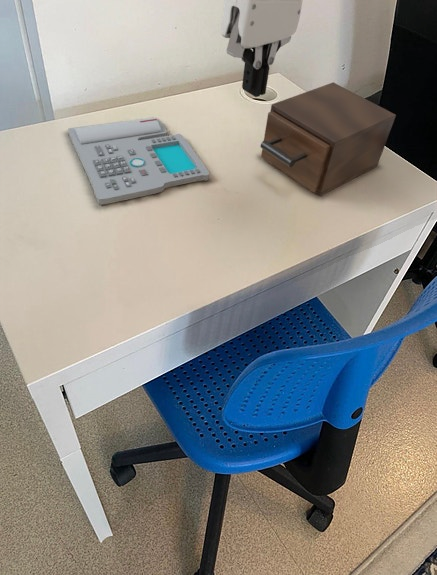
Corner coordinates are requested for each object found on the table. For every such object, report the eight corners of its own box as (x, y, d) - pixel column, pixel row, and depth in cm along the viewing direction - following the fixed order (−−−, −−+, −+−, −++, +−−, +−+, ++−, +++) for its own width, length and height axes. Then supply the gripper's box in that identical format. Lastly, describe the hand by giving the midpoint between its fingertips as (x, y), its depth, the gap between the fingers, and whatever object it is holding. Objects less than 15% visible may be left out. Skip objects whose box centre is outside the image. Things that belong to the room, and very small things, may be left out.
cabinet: (320, 196, 87) (335, 142, 79) (262, 157, 94) (271, 104, 86) (377, 166, 95) (396, 114, 87) (320, 132, 102) (333, 82, 94)
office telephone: (65, 121, 92) (166, 107, 99) (67, 134, 94) (167, 119, 100) (98, 192, 78) (214, 170, 85) (99, 206, 80) (213, 183, 86)
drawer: (297, 201, 84) (308, 156, 77) (243, 163, 90) (250, 119, 84) (368, 164, 93) (384, 121, 87) (316, 133, 100) (326, 90, 93)
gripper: (295, -76, 62) (272, 70, 75) (203, -66, 55) (195, 94, 68) (341, -61, 58) (308, 90, 72) (249, -48, 51) (231, 117, 65)
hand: (253, 91), depth 70 cm, fingers closed
